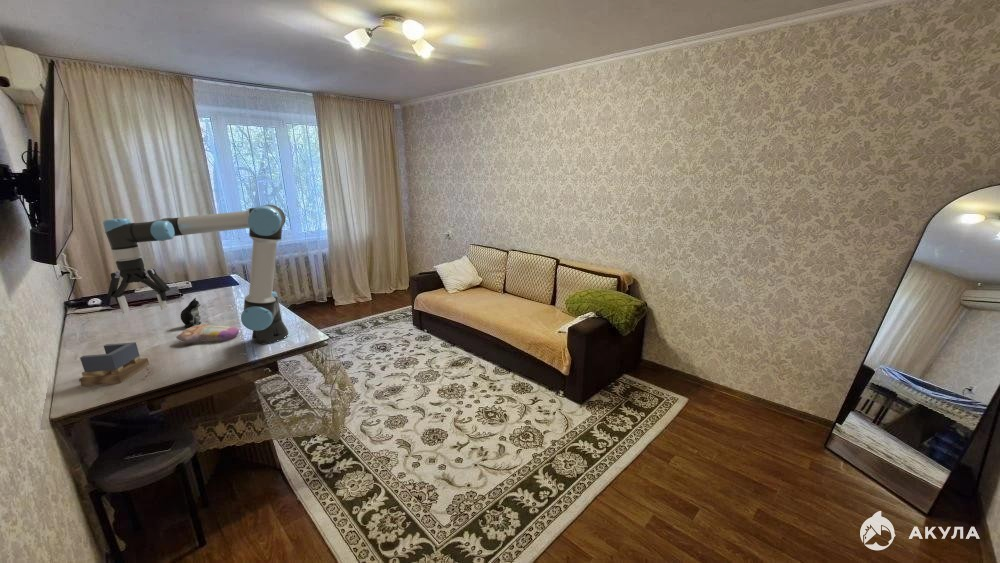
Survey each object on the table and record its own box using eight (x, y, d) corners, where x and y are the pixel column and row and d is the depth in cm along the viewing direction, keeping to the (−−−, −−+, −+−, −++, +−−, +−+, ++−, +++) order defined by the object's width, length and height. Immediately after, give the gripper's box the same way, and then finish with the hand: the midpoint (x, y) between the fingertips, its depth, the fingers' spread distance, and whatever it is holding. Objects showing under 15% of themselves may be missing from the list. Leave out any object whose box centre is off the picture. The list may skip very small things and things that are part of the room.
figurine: (202, 328, 198) (195, 301, 194) (178, 331, 194) (171, 303, 190) (207, 322, 206) (201, 296, 202) (185, 325, 203) (179, 298, 199)
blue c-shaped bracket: (139, 355, 156) (135, 342, 154) (115, 369, 145) (111, 355, 143) (111, 357, 154) (106, 344, 153) (84, 372, 143) (79, 357, 141)
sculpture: (245, 331, 198) (186, 336, 189) (243, 319, 197) (184, 323, 188) (236, 341, 182) (171, 347, 173) (234, 328, 181) (169, 333, 172)
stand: (149, 364, 159) (146, 353, 158) (120, 382, 145) (117, 371, 143) (114, 367, 157) (110, 356, 156) (81, 386, 143) (77, 374, 141)
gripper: (170, 254, 152) (185, 304, 158) (99, 259, 148) (117, 310, 154) (158, 258, 145) (174, 310, 151) (82, 263, 141) (102, 317, 147)
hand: (145, 310), depth 152 cm, fingers open, 13 cm apart
